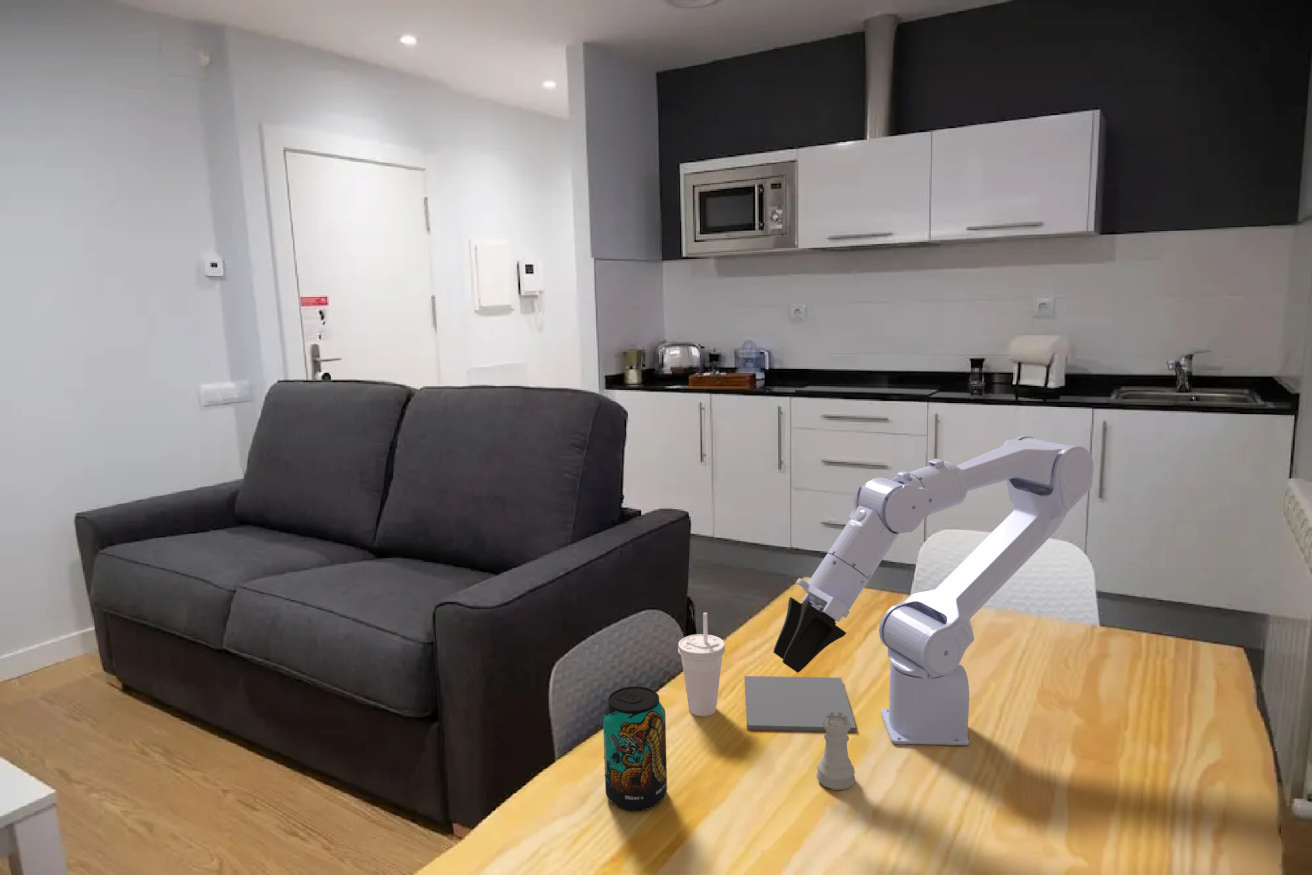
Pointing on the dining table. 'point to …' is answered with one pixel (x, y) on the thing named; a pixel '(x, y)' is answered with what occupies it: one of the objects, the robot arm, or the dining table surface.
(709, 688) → the smoothie
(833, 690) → the rubber mat
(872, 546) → the robot arm
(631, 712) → the beverage can
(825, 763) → the rook chess piece
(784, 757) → the dining table surface
